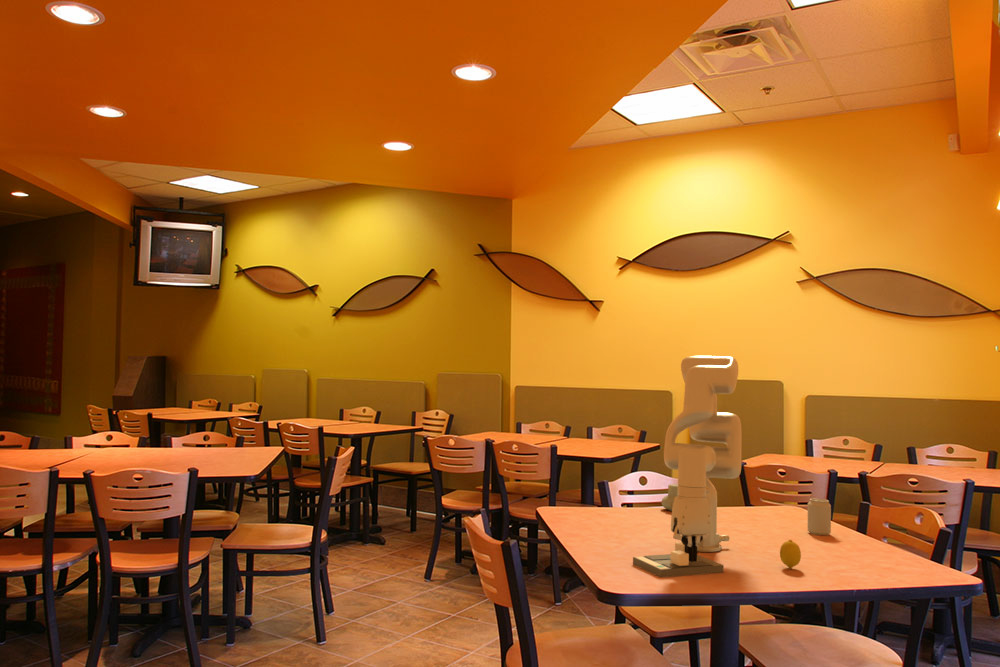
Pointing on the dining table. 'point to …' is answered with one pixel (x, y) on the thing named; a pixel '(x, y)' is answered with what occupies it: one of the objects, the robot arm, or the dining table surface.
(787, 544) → the lemon
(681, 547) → the switch tab
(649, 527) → the dining table surface
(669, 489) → the air freshener
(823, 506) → the can
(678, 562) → the switch tab
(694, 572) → the switch panel
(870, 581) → the dining table surface
